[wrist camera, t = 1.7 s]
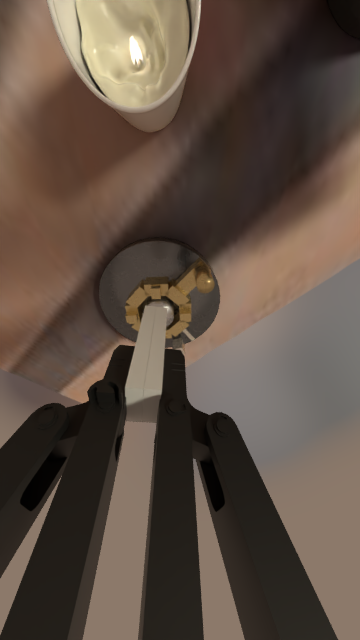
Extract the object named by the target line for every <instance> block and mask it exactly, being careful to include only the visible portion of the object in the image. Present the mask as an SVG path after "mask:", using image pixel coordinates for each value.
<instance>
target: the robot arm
mask: <svg viewBox="0 0 360 640" xmlns="http://www.w3.org/2000/svg"><path fill="white" fill-rule="evenodd" d="M327 1H328V5H329V7H330V10H331V12H332V14H333V16H334V18H335V20H336V21H337V23H338V24H339V26H340V27H341V28H342V29H343V30H344V31H345V32H347V33H348V34H349V35H351V36H353V37H356V38H359V39H360V0H327ZM166 320H167V308H164V307H155V306H146V305H145V309H144V313H143V317H142V321H141V325H140V329H139V333H138V337H137V341H136V345H135V346H126V345H119V346H118V347H117V348H116V349H115V350H114V352H113V354H112V357H111V360H110V362H109V366H108V368H107V370H106V373H105V376H104V379H102V380H100V381H97V382H96V383H94V384H93V385H92V386H91V387H90V388H89V390H88V391H87V393H88V397H89V401H87V402H86V403H83V404H80V405H75V406H72V407H67V408H65V406H63V405H61V404H59V403H51V404H46V405H44V406H42V407H40V408H38V409H37V410H36V411H35V412H34V413H32V414H31V415H30V417H29V418H28V419H27V420H26V421H25V422H24V423H23V424H22V425H21V426H20V428H19V429H18V430H17V431H16V432H15V433H14V434H13V435H12V436H11V438H10V439H9V440H8V441H7V442H6V443H5V444H4V445H3V446H2V448H1V449H0V578H1V576H2V574H3V573H4V571H5V569H6V568H7V566H8V564H9V562H10V561H11V559H12V558H13V556H14V554H15V553H16V550H17V549H18V548H19V546H20V544H21V543H22V541H23V539H24V538H25V536H26V534H27V533H28V531H29V529H30V528H31V526H32V524H33V523H34V521H35V519H36V518H37V516H38V514H39V513H40V511H41V509H42V508H43V506H44V504H45V503H46V501H47V499H48V497H49V496H50V494H51V492H52V491H53V489H54V487H55V486H56V484H57V482H58V481H59V479H60V477H61V476H62V477H61V480H60V482H59V485H58V487H57V490H56V493H55V495H54V498H53V500H52V503H51V506H50V508H49V511H48V513H47V516H46V519H45V521H44V524H43V526H42V529H41V531H40V534H39V537H38V539H37V542H36V544H35V547H34V550H33V552H32V555H31V557H30V560H29V563H28V565H27V568H26V570H25V573H24V576H23V578H22V581H21V583H20V586H19V589H18V591H17V594H16V596H15V599H14V602H13V604H12V607H11V609H10V612H9V614H8V617H7V620H6V622H5V625H4V627H3V630H2V633H1V635H0V640H82V639H83V634H84V629H85V624H86V619H87V614H88V609H89V604H90V599H91V594H92V590H93V585H94V579H95V574H96V570H97V565H98V560H99V555H100V550H101V545H102V540H103V535H104V530H105V525H106V520H107V515H108V510H109V505H110V500H111V495H112V490H113V485H114V481H115V476H116V471H117V466H118V461H119V455H120V451H121V446H122V441H123V436H124V425H125V420H126V421H133V422H153V423H157V425H156V434H155V440H154V443H155V445H154V456H153V469H152V481H151V493H150V504H149V516H148V528H147V540H146V552H145V564H144V576H143V588H142V600H141V613H140V624H139V635H138V640H204V635H203V618H202V602H201V586H200V571H199V570H200V569H199V553H198V536H197V521H196V503H195V487H194V470H193V458H194V459H196V462H197V466H198V469H199V473H200V477H201V480H202V484H203V488H204V491H205V495H206V499H207V503H208V506H209V510H210V514H211V517H212V521H213V524H214V528H215V531H216V535H217V539H218V543H219V546H220V550H221V554H222V557H223V561H224V564H225V568H226V572H227V576H228V579H229V583H230V587H231V590H232V593H233V598H234V601H235V605H236V609H237V612H238V616H239V619H240V623H241V627H242V630H243V634H244V638H245V640H338V639H337V637H336V635H335V632H334V630H333V628H332V626H331V624H330V622H329V620H328V618H327V616H326V613H325V612H324V609H323V607H322V605H321V603H320V601H319V599H318V597H317V594H316V593H315V590H314V588H313V586H312V584H311V582H310V580H309V578H308V576H307V574H306V571H305V569H304V567H303V565H302V563H301V561H300V558H299V557H298V554H297V553H296V550H295V548H294V546H293V544H292V542H291V540H290V537H289V535H288V533H287V531H286V529H285V527H284V525H283V523H282V520H281V518H280V516H279V514H278V512H277V510H276V508H275V506H274V504H273V501H272V499H271V497H270V495H269V493H268V491H267V489H266V487H265V485H264V482H263V480H262V478H261V476H260V474H259V472H258V470H257V468H256V466H255V464H254V461H253V459H252V457H251V455H250V453H249V451H248V449H247V447H246V445H245V442H244V440H243V438H242V436H241V434H240V432H239V430H238V428H237V425H236V424H235V422H234V421H233V419H232V418H231V417H229V416H228V415H226V414H224V413H222V412H216V413H213V414H211V415H208V414H206V413H203V412H201V411H199V410H197V409H195V408H194V407H193V406H191V404H190V403H189V401H188V399H187V393H186V376H185V357H184V355H183V353H182V351H181V350H175V349H165V336H166Z"/></svg>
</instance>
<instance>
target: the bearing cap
mask: <svg viewBox="0 0 360 640" xmlns="http://www.w3.org/2000/svg"><path fill="white" fill-rule="evenodd" d="M199 257H200V258H201V259H202V260H203V261H204V262H205V263H206V264H207V265H208V266H209V267H210V265H209V264H208V262H207V261H206V260H205V258H204V257H203V256H202V255H201V254H200V253H199V252H198V251H196V250H195V249H193V248H192V247H190V246H189V245H187V244H185V243H183V242H180V241H177V240H174V239H169V238H158V237H155V238H146V239H142V240H139V241H136V242H134V243H131V244H130V245H128V246H126V247H125V248H123V249H122V250H121V251H120V252H119V253H118V254H117V255H116V256H115V257H114V258H113V259H112V260H111V262H110V263H109V264H108V265H107V267H106V269H105V270H104V272H103V275H102V277H101V281H100V285H99V300H100V304H101V307H102V310H103V313H104V314H105V316H106V318H107V320H108V321H109V322H110V324H111V325H112V326H113V327H114V328H115V329H116V330H117V331H118V332H119V333H120V334H122V335H123V336H125V337H126V338H128V339H130V340H132V341H134V342H136V341H137V337H138V333H139V332H138V331H137V330H135V329H134V328H132V324H129V323H127V321H126V317H125V315H126V309H125V305H126V301H127V298H128V296H129V294H130V292H131V291H132V290H133V289H134V288H135V287H136V286H137V284H138V283H139V282H140V281H141V280H142V279H143V280H144V281H145V280H146V277H169V281H170V280H171V279H172V278H173V279H175V280H177V279H178V278H179V277H180V276H181V275H182V274H183V273H184V272H185V271H186V270H187V269H188V268H189V267H190V266H191V265H192V264H193V263H194V262H195V261H196V260H197V259H198V258H199ZM210 269H211V275H212V277H213V280H214V282H215V286H214V289H213V290H212V291H211V292H209V293H201V292H199V291H198V289H197V286H196V287H195V288H194V289H193V290H191V291H190V292H189V295H190V298H191V322H189V326H188V327H187V328H185V329H184V330H183V331H182V332H181V333H179V334H178V335H177V336H176V337H175V336H173V335H172V338H165V348H167V347H173V349H175V350H181V351H182V353H183V355H184V354H185V344H186V343H188V342H190V341H194V340H195V339H196V338H197V337H199V336H200V335H202V334H203V333H204V332H205V331H206V330H207V329H208V328H209V327H210V325H211V324H212V322H213V321H214V319H215V317H216V315H217V312H218V309H219V303H220V292H219V286H218V283H217V280H216V278H215V275H214V273H213V271H212V268H211V267H210ZM145 305H146V306H155V307H164V308H167V320H166V327H167V326H169V325H170V324H171V323H172V321H173V318H174V316H175V315H176V314H177V313H178V312H179V306H178V305H177V304H176V303H175V302H173V301H172V300H171V299H170V298H168V297H167V296H161V299H152V296H148V297H147V298H146V299H145V300H144V301H143V302H142V303H141V307H142V312H143V313H144V309H145Z"/></svg>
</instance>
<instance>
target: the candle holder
mask: <svg viewBox="0 0 360 640" xmlns="http://www.w3.org/2000/svg"><path fill="white" fill-rule="evenodd" d="M47 4H48V8H49V12H50V15H51V19H52V22H53V25H54V28H55V31H56V33H57V36H58V38H59V41H60V43H61V45H62V48H63V50H64V52H65V54H66V56H67V58H68V60H69V61H70V63H71V65H72V67H73V68H74V70H75V71H76V73H77V74H78V76H79V77H80V78H81V80H82V81H83V82H84V84H85V85H86V86H87V87H88V88H89V89H90V90H91V91H92V92H93V93H94V94H95V95H96V96H97V97H98V98H99V99H100V100H102V101H103V102H104V103H106V104H107V105H109V106H110V107H111V108H112V109H113V110H114V111H115V112H117V113H118V114H119V115H120V116H121V117H122V118H123V119H125V120H126V121H127V122H128V123H129V124H131V125H132V126H133V127H135V128H137V129H139V130H141V131H144V132H156V131H159V130H161V129H163V128H164V127H166V126H167V125H168V124H169V123H170V122H171V121H172V119H173V118H174V116H175V115H176V113H177V111H178V108H179V106H180V103H181V99H182V96H183V92H184V87H185V83H186V79H187V75H188V70H189V66H190V62H191V60H192V56H193V53H194V49H195V45H196V41H197V36H198V30H199V23H200V13H201V0H47Z"/></svg>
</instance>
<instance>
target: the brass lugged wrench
mask: <svg viewBox="0 0 360 640" xmlns="http://www.w3.org/2000/svg"><path fill="white" fill-rule="evenodd" d="M196 286H197V289H198V291H199V292H201V293H209V292H211V291H212V290H213V289H214V286H215V282H214V280H213V277H212V275H211V269H210V267H209V266H208V265H207V264H206V263H205V262H204V261H203V260H202V259H201V258H200V257H199V258H198V259H197V260H196V261H195V262H194V263H193V264H192V265H191V266H190V267H189V268H188V269H187V270H186V271H185V272H184V273H183V274H182V275H181V276H180V277H179V278H178V279H177V280H175V279H173V278H172V279H171V280H170V281H169V277H146V280H145V281H144V280H143V279H142V280H141V281H140V282H139V283H138V284H137V286H136V287H135V288H134V289H133V290H132V291H131V292H130V294H129V296H128V298H127V301H126V305H125V309H126V315H125V317H126V321H127V323H129V324H132V328H134V329H135V330H137V331H138V332H139V329H140V325H141V321H142V317H143V312H142V307H141V303H142V302H143V301H144V300H145V299H146V298H147V297H148V296H152V299H161V296H167V297H168V298H170V299H171V300H172V301H173V302H175V303H176V304H177V305H178V306H179V312H178V313H177V314H176V315H175V316H174V318H173V321H172V323H171V324H170V325H169V326H167V327H166V336H165V338H172V335H173V336H175V337H176V336H177V335H178V334H179V333H181V332H182V331H183V330H184V329H185V328H187V327H188V326H189V322H191V298H190V295H189V292H190V291H191V290H193V289H194V288H195V287H196Z"/></svg>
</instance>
